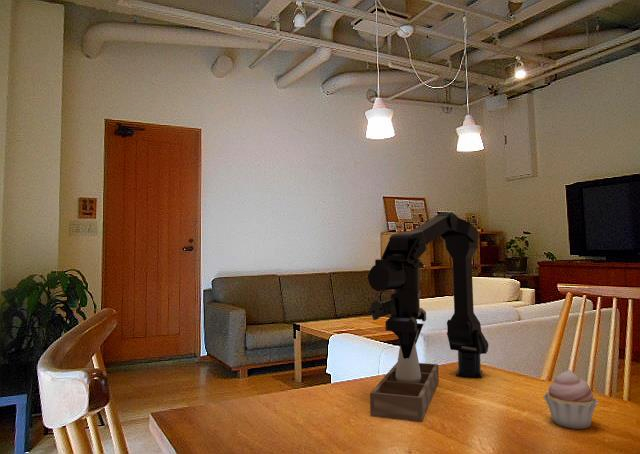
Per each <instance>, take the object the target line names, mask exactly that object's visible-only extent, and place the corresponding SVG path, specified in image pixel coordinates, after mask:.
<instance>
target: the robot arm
mask: <svg viewBox="0 0 640 454" xmlns="http://www.w3.org/2000/svg"><path fill="white" fill-rule="evenodd" d="M439 237H440V238H441V240H443V241H444V242H445V243H444V244H445V249H446V251H447V253H448V254H449V256H450V257H451V259H452V260H451V261H452V283H453V287H452V288H453V312H454V313H452V314H453V315H452V316H451V318H450V319H448V320H447V321H446V326H447V331H446V335H447V340H448V343H449V348H450V349H449V350H451V351H457V365H458V368H457V370H456V371H455V372H456V373H455V375H456V377H467V378H481V379H482V378H483V372H484V371H483V370H482V366H481V355H482V354H483V355H487V352H488V351H489V342H488V341H487V339H486V337H485V336H484V333H483V332H482V326H481V322H480V320H479V319H478V318H477V316H476V314H475V311H474V294H473V293H474V290H473V288H474V286H473V263H472V262H473V256H474V255H475V253H476V251H477V250H478V248H479V247H478V244H479V243H478V242H479V239H480V238H479V237H480V234H479V231H478V229H477V228H476V227H475V226H474V225H473V224H472V223H471V222H470V221H468V220H464V219H463V218H460V217H459V216H458V215H456V214H455V213H452V212H450V213H446V212H445V213H438V214H436V215H434V217H433V218H431V219H430V220H428V221H426V222H424V223H423V224H420V225H419V226H418V227H416V228H413V229H412V230H407V231H406V230H405V231H401V232H397V233H393V234H392V235H391V236H390V237H389V241H388V242H387V245H386V247H385V249H384V252H383V254H382V256H381V258H380V259H375V261H374V265H372V267H371V268H370V270H369V272H368V274H367V281H368V283H369V286H370V287H371V288H372V289H373V290H374V291H376V292H385V291H393V292H391V294H390V299H388V300H385V301H381V300H379V299H377V300H373V301H371V303H370V306H368V310H369V311H368V314H370V315H371V317H372V320H373V321H377V320H379V318H383V317H385V316H388V315H390V317H389V318H387V319H386V321H385V322H384V323H385V331H388V332H392V333H393V334H395V335H396V336H397V339H398V343H399V347H400V346H401V350H402V354H403V357H404V359H406V358H408V359H409V357H410V355H411V352H412V349H413V346H414V343H415V345H417V342H418V340H419V337H420V336H421V332H422V329H423V326H424V323H419V322H418V320H421V321H422V322H426V320H427V311H426V310H425V309H423V308H422V307H420V306H421V305H420V298H421V297H422V292H421V291H420V269H422V268H424V267H425V266H424V265H425V264H424V263H423V262H422V261H420V260H419V258H421V257H422V255H423V254H424V253H425V252H426V251H427V248H428V247H427V245H428V244H430V243H431V242H433V241H435V240H437V238H439ZM416 337H417V339H416Z"/></svg>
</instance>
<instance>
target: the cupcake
mask: <svg viewBox="0 0 640 454" xmlns="http://www.w3.org/2000/svg"><path fill="white" fill-rule="evenodd" d="M543 398H544V400H545V402H546V404H547V406H548V408H549V411H550V412H549V413H550V415H551V420H552V421H553V422H554V424H555V425H558V426H561V427H564V428H568V429H575V430H576V429H577V430H582V429H584V430H585V429H587V428H588V429H589V427H590V426H591V425H592V420H593V415H594V414H593V413H594V410H595V409H596V407H597V405H598V402H599V400H598V399H596V398H594V392H593V391H592V388H590V384H588V383H587V382H586V381H585V380H583V379H581V378H579V377H578V376H577V375H576V373H574V372H573V371H572V370H571V369H568V370H566V371H563V372H561V373H560V374H558V375H557V376H556V377H555V379H554V381H553V382H552V383H551V384H550V385H549V386H548V392H545V393H544V395H543Z"/></svg>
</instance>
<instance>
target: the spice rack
mask: <svg viewBox="0 0 640 454" xmlns="http://www.w3.org/2000/svg"><path fill="white" fill-rule="evenodd" d="M419 366H420V372H421V380H420V382H419V383H409V382H398V381H397V379H396V376H395V375H396V368H397V362H396V363H395V364H394V365H393V366H392V367H391V368H390V370H388V372H387V373H386V374H385V376H383V378H381V380H380V381H379V382H378V384H377V385H376V386H375V387H374V388H373V389H372V391H371V392H369V393H370V394H369V395H370V397H369V398H370V401H369V404H370V408H369V409H370V417H379V418H387V419H394V420H395V419H396V420H402V421H411V422H413V421H414V422H420V423H422V422H423V420H424V418H425V416H426V414H427V411H428V408H429V406H430V404H431V401H432V399H433V397H434V394H435V392H436V390H437V388H438V385H439V381H440V380H439V364H438V363H423V362H419Z"/></svg>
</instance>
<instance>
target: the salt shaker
mask: <svg viewBox="0 0 640 454" xmlns="http://www.w3.org/2000/svg"><path fill="white" fill-rule="evenodd" d="M416 339H417V337H416ZM416 345H417V344H416ZM416 345H415V343H414V346H413V349H412V352H411V355H410V357H409V359H408V358H406V359H404V357H403V354H402V350H401V346H400V345H399V350H398V357H397V362H396V363H397V368H396V375H395V376H396V379H397V381H398V382H409V383H419V382H420V380H421V372H420V366H419V363H420V362H419V356H418V351H417V346H416Z"/></svg>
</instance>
